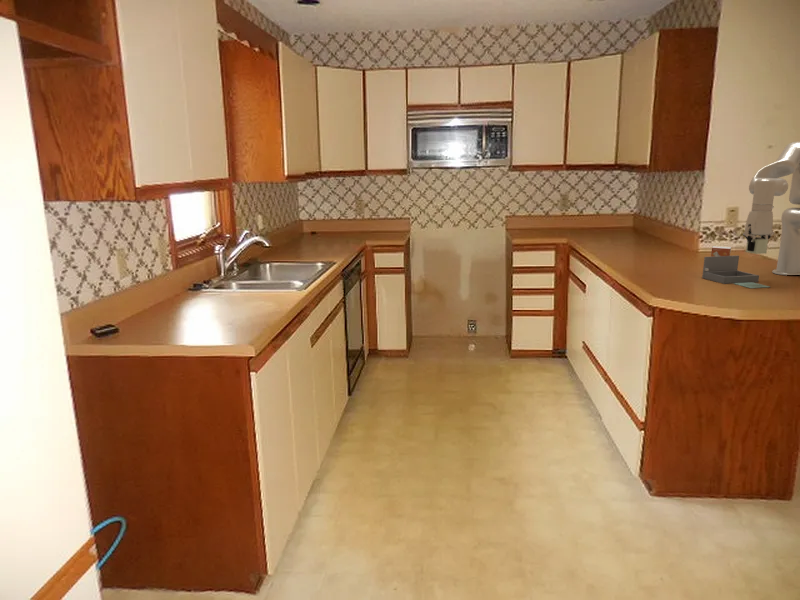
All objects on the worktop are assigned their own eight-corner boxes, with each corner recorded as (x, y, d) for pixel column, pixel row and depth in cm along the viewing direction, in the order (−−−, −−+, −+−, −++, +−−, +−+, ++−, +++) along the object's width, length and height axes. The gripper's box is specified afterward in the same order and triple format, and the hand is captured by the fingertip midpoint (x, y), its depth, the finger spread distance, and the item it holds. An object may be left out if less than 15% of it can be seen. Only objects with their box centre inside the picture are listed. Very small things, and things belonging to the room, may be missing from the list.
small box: (708, 274, 288) (711, 247, 285) (709, 272, 294) (712, 245, 291) (727, 275, 284) (730, 248, 282) (727, 273, 290) (731, 246, 287)
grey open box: (734, 276, 283) (736, 255, 281) (758, 282, 269) (761, 260, 267) (700, 277, 280) (703, 256, 277) (723, 283, 266) (726, 261, 263)
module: (755, 251, 262) (757, 236, 260) (766, 253, 256) (768, 238, 254) (745, 251, 261) (747, 237, 259) (756, 253, 255) (758, 238, 253)
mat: (752, 282, 267) (752, 282, 267) (770, 287, 258) (770, 286, 258) (733, 283, 265) (733, 283, 265) (750, 288, 256) (750, 287, 256)
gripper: (771, 207, 259) (765, 249, 263) (738, 208, 256) (732, 250, 260) (786, 208, 252) (779, 251, 256) (751, 209, 249) (745, 252, 253)
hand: (756, 250), depth 258 cm, fingers closed on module, 5 cm apart
